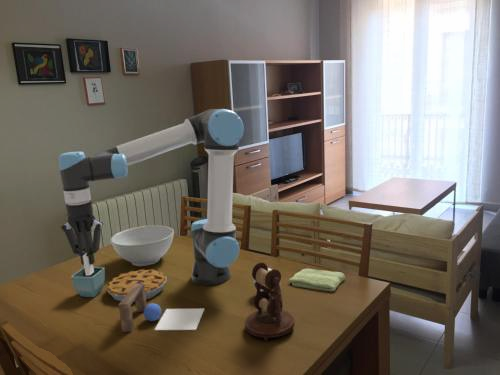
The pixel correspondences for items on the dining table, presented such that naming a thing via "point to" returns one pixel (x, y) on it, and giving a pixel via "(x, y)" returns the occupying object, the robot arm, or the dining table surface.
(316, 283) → the washcloth
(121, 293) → the pie
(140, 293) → the bridge
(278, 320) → the brown wooden tall piece
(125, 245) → the decorative bowl
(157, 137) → the robot arm
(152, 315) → the ball
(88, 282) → the flower pot
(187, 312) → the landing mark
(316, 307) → the dining table surface
